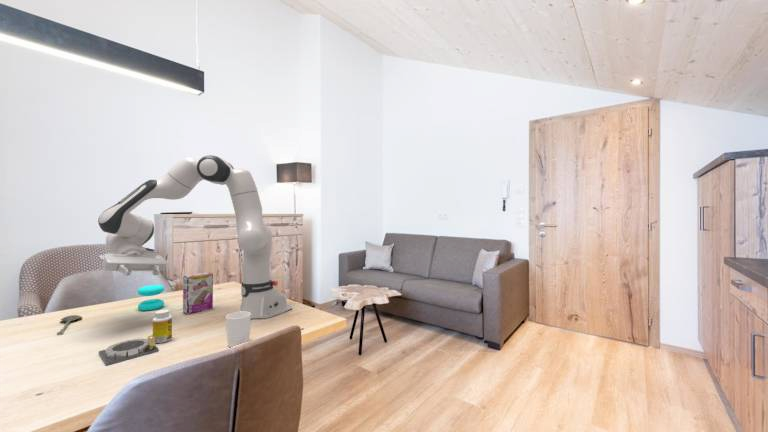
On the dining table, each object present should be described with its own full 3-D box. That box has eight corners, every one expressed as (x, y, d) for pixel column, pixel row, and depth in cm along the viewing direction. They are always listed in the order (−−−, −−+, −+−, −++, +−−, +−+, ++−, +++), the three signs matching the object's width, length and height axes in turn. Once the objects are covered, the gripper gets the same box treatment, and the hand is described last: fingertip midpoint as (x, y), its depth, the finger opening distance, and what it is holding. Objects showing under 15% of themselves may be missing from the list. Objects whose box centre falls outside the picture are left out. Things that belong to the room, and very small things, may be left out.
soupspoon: (84, 319, 138) (62, 323, 134) (83, 311, 138) (62, 315, 134) (72, 333, 120) (46, 338, 116) (71, 324, 120) (46, 329, 116)
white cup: (241, 350, 106) (241, 319, 105) (220, 348, 107) (220, 317, 107) (255, 340, 113) (255, 312, 113) (235, 338, 115) (235, 310, 115)
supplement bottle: (170, 342, 112) (170, 312, 112) (151, 345, 109) (150, 314, 109) (173, 336, 117) (172, 308, 117) (154, 339, 114) (154, 310, 114)
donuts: (148, 284, 155) (169, 284, 155) (148, 305, 155) (169, 305, 155) (131, 289, 145) (154, 289, 145) (132, 311, 145) (154, 311, 145)
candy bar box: (187, 314, 141) (187, 277, 140) (182, 312, 144) (182, 275, 143) (213, 308, 150) (213, 273, 149) (208, 306, 153) (208, 271, 152)
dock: (148, 341, 112) (147, 327, 112) (158, 351, 105) (158, 336, 104) (98, 353, 103) (98, 338, 103) (106, 365, 95) (105, 349, 95)
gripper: (100, 246, 119) (112, 265, 112) (160, 250, 137) (174, 266, 130) (93, 262, 120) (106, 281, 113) (154, 263, 137) (168, 280, 130)
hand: (143, 273), depth 121 cm, fingers open, 8 cm apart
